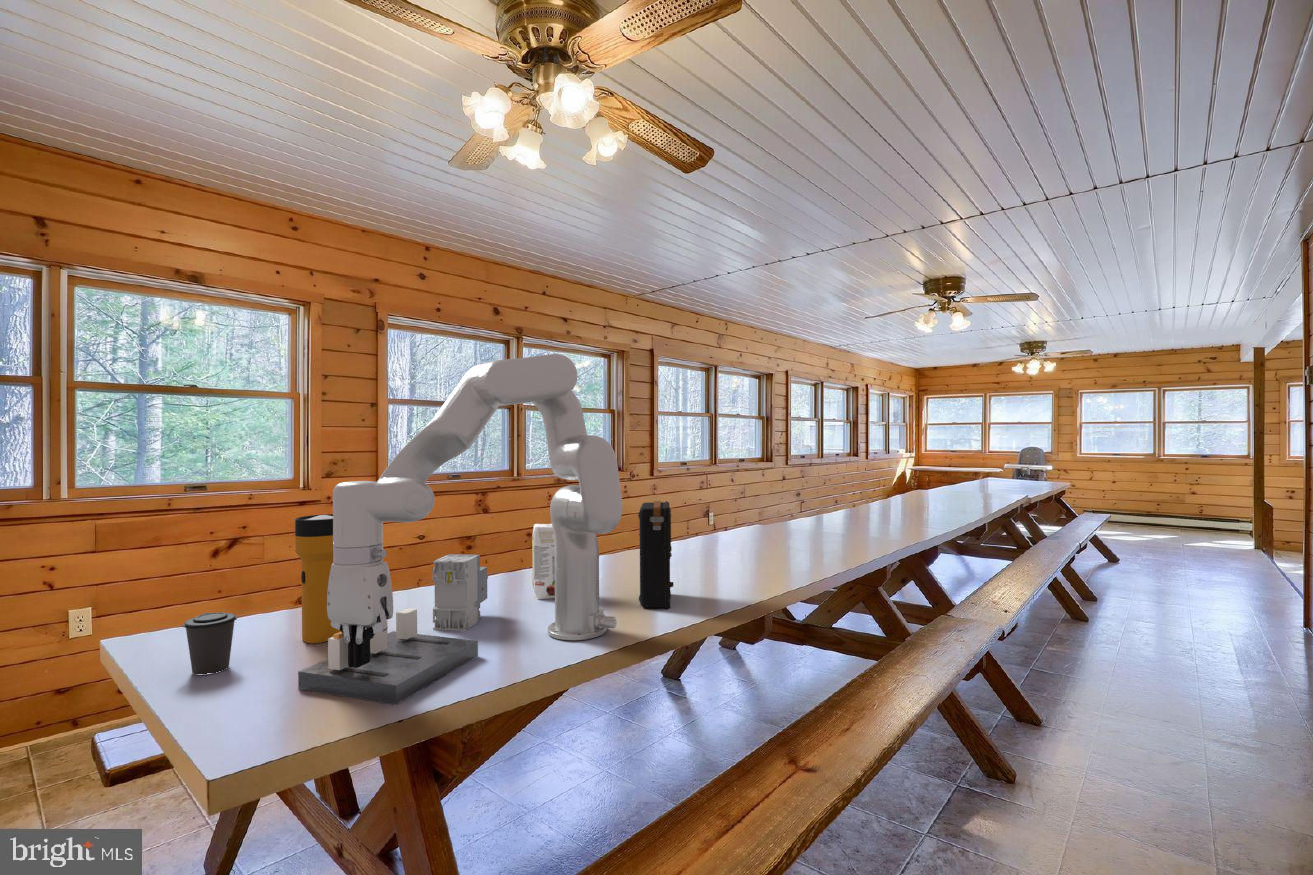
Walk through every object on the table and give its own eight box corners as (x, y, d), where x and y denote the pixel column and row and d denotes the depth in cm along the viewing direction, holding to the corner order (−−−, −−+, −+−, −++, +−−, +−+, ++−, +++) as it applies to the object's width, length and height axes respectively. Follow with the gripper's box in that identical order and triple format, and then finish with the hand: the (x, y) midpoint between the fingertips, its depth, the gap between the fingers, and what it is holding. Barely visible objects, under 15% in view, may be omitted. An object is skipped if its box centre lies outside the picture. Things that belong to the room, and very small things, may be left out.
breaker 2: (417, 634, 119) (417, 609, 119) (406, 639, 116) (406, 613, 116) (407, 633, 120) (407, 608, 120) (396, 638, 117) (396, 612, 117)
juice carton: (567, 598, 158) (567, 525, 158) (534, 600, 156) (533, 527, 156) (563, 591, 165) (563, 521, 165) (531, 593, 163) (531, 523, 163)
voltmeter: (674, 610, 147) (673, 507, 147) (638, 610, 147) (637, 507, 147) (673, 593, 162) (672, 500, 162) (640, 593, 162) (640, 500, 162)
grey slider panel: (477, 656, 116) (477, 640, 116) (396, 704, 95) (395, 684, 95) (392, 646, 122) (392, 630, 122) (298, 689, 101) (298, 670, 101)
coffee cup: (206, 661, 115) (206, 608, 115) (248, 661, 114) (248, 608, 114) (170, 678, 106) (170, 621, 106) (215, 678, 106) (215, 621, 106)
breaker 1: (387, 648, 111) (387, 621, 111) (375, 653, 108) (375, 625, 108) (377, 646, 112) (376, 619, 112) (364, 652, 109) (364, 624, 109)
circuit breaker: (490, 611, 146) (489, 549, 146) (465, 630, 132) (465, 561, 132) (460, 611, 147) (459, 549, 147) (432, 629, 133) (432, 561, 133)
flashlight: (356, 514, 128) (304, 519, 121) (357, 637, 128) (305, 649, 121) (338, 511, 135) (288, 515, 128) (339, 627, 135) (289, 638, 128)
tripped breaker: (353, 663, 104) (353, 631, 104) (339, 670, 101) (339, 636, 101) (342, 662, 104) (342, 629, 104) (328, 668, 101) (328, 635, 101)
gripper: (411, 553, 103) (411, 661, 103) (340, 549, 107) (341, 652, 107) (378, 562, 95) (379, 678, 95) (304, 557, 100) (305, 668, 100)
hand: (359, 664), depth 101 cm, fingers closed
